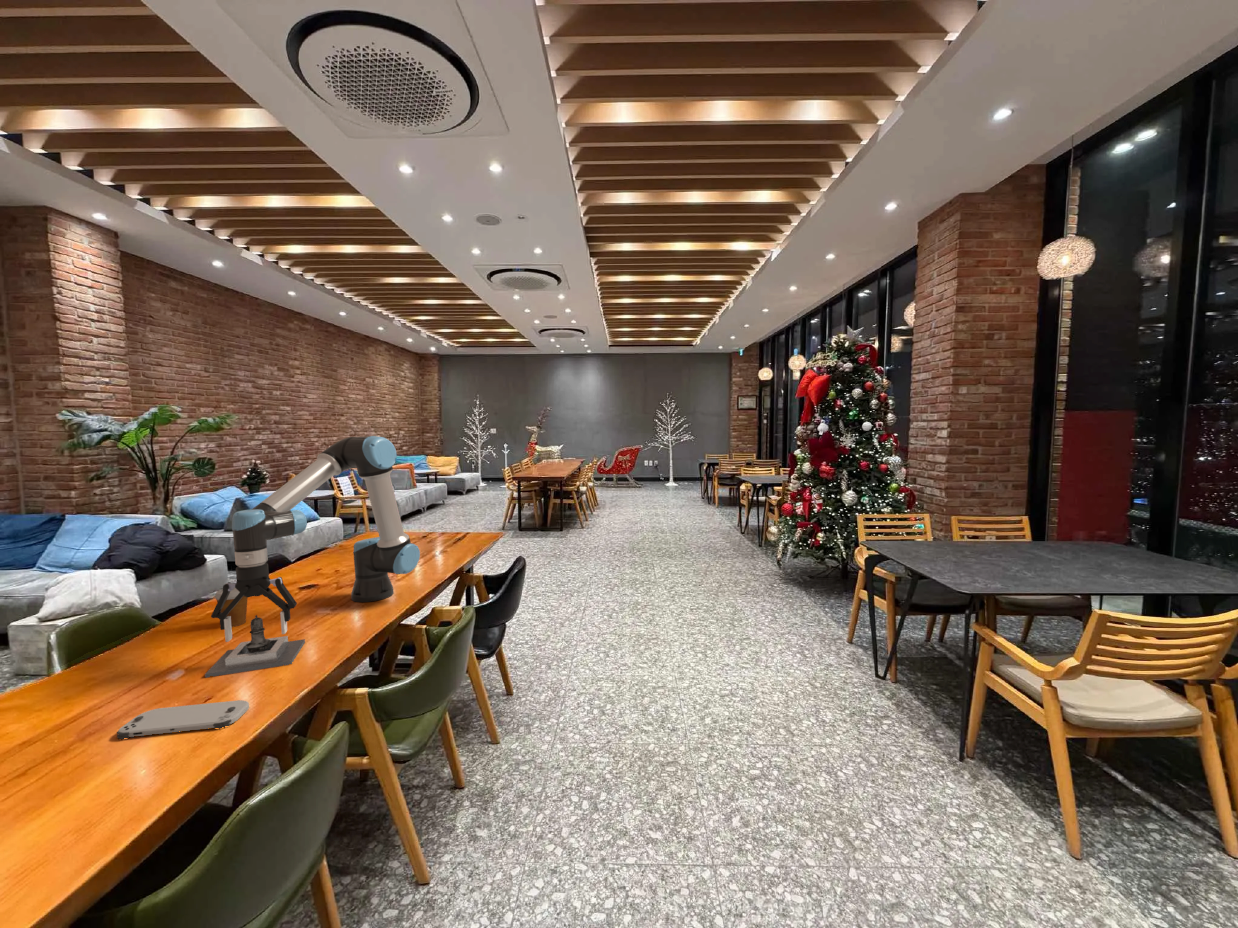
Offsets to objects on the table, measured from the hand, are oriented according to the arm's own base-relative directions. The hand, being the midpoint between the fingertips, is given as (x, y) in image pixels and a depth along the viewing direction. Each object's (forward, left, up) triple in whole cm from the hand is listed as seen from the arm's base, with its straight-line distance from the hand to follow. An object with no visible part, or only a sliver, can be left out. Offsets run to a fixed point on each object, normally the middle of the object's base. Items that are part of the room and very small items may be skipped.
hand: (257, 636), depth 146 cm
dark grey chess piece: (0, 0, -6) cm, 6 cm away
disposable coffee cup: (+17, -36, -7) cm, 40 cm away
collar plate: (0, 0, -7) cm, 7 cm away
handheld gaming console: (+5, +32, -7) cm, 33 cm away
